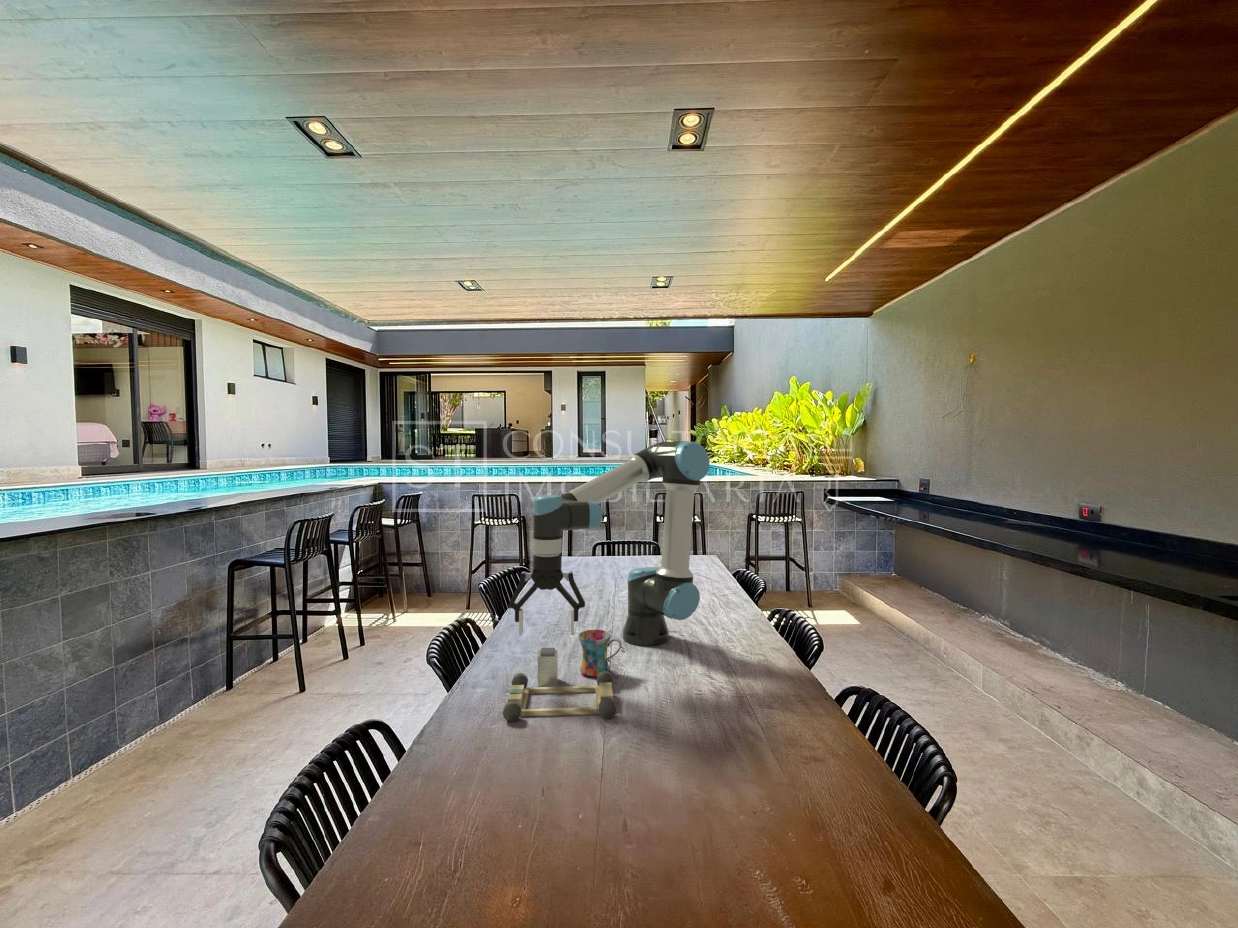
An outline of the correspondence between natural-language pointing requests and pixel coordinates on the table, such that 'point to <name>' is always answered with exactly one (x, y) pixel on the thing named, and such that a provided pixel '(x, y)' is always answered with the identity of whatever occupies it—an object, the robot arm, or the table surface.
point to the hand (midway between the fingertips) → (546, 633)
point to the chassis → (520, 692)
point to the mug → (595, 651)
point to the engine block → (547, 667)
